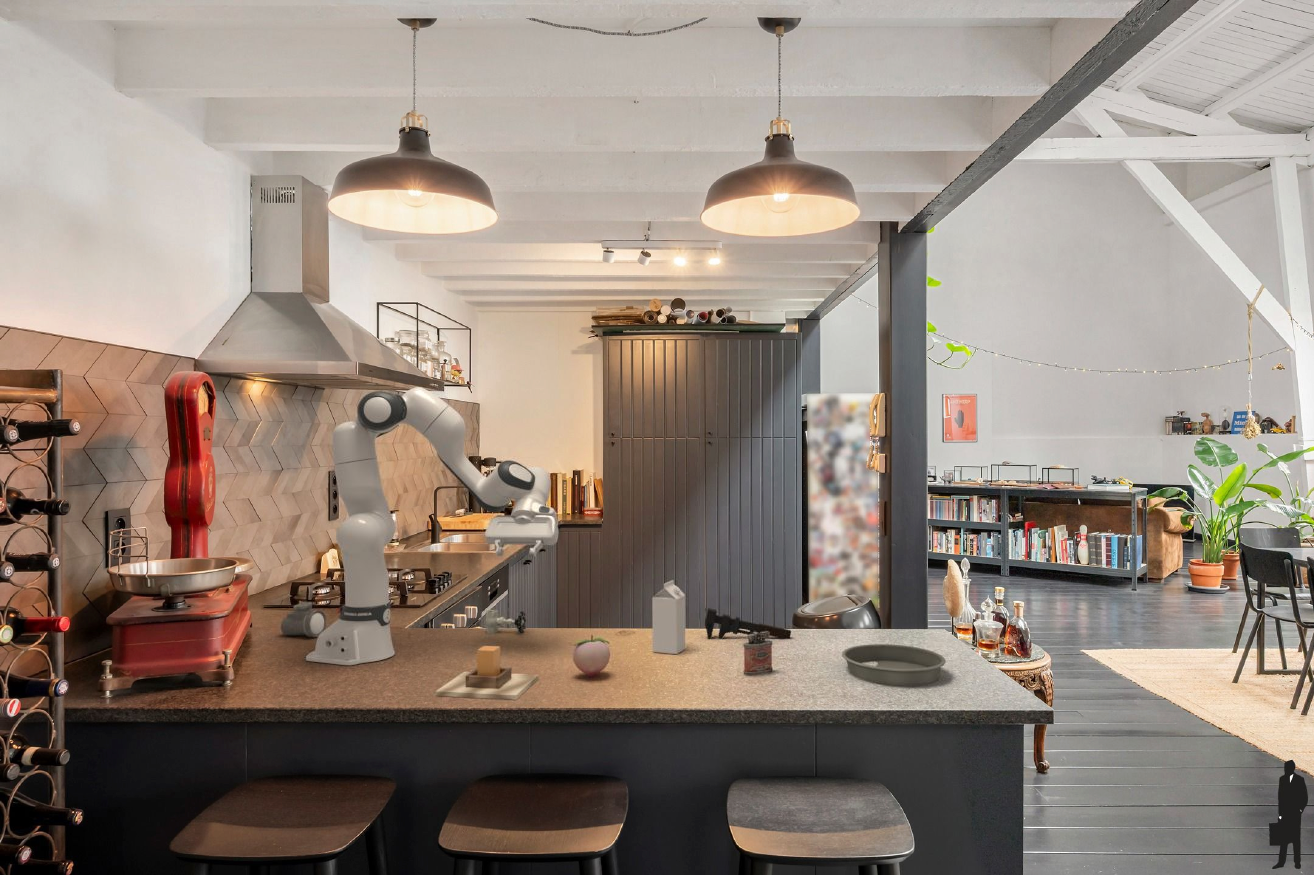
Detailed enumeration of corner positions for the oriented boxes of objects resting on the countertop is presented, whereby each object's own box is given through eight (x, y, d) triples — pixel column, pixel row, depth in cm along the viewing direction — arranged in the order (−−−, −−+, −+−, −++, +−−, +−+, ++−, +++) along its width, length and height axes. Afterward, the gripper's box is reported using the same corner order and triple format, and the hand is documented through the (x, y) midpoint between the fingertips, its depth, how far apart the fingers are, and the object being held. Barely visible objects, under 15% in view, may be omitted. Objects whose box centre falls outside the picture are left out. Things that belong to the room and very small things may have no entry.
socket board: (435, 695, 173) (435, 680, 173) (464, 675, 188) (464, 661, 189) (516, 699, 170) (516, 683, 170) (538, 678, 185) (538, 664, 185)
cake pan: (914, 658, 204) (913, 641, 204) (966, 685, 179) (966, 666, 180) (826, 662, 200) (826, 645, 200) (868, 691, 175) (868, 671, 175)
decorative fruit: (583, 683, 181) (582, 641, 182) (568, 675, 188) (568, 634, 189) (617, 677, 186) (617, 636, 187) (601, 669, 193) (601, 629, 194)
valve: (482, 634, 232) (520, 635, 230) (482, 612, 232) (520, 613, 231) (489, 629, 238) (526, 630, 237) (489, 608, 238) (526, 609, 237)
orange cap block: (477, 684, 177) (477, 650, 178) (484, 679, 181) (484, 645, 182) (493, 685, 177) (493, 650, 177) (500, 680, 181) (500, 646, 181)
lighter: (748, 676, 186) (748, 635, 187) (740, 673, 189) (740, 632, 190) (775, 672, 190) (775, 631, 190) (767, 668, 193) (767, 629, 193)
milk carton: (652, 652, 210) (652, 583, 210) (661, 646, 216) (661, 579, 217) (676, 655, 207) (676, 584, 207) (685, 648, 214) (685, 580, 214)
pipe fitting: (330, 632, 233) (325, 599, 233) (312, 640, 225) (307, 606, 225) (297, 634, 236) (292, 602, 236) (278, 643, 228) (273, 609, 228)
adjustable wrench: (786, 656, 224) (702, 638, 225) (785, 653, 227) (702, 635, 227) (792, 628, 224) (708, 609, 225) (790, 625, 227) (707, 608, 227)
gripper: (489, 508, 216) (475, 547, 206) (559, 508, 212) (548, 548, 202) (495, 522, 220) (481, 561, 210) (563, 523, 217) (553, 562, 207)
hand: (515, 555), depth 206 cm, fingers open, 8 cm apart
